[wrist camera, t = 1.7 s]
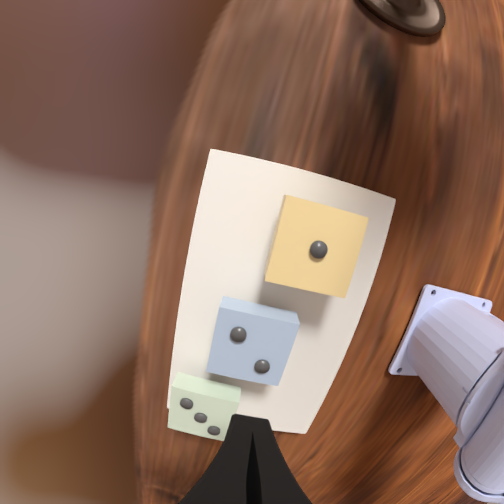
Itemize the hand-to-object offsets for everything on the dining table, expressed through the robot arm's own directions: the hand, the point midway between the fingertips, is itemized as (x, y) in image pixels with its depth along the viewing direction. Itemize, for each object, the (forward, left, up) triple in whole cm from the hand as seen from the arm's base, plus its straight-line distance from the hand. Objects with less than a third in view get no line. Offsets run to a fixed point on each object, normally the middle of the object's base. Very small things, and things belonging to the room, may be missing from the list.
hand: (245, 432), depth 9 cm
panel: (-1, -1, -10) cm, 10 cm away
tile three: (+2, +7, -8) cm, 11 cm away
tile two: (0, 0, -8) cm, 8 cm away
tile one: (-2, -7, -8) cm, 11 cm away
